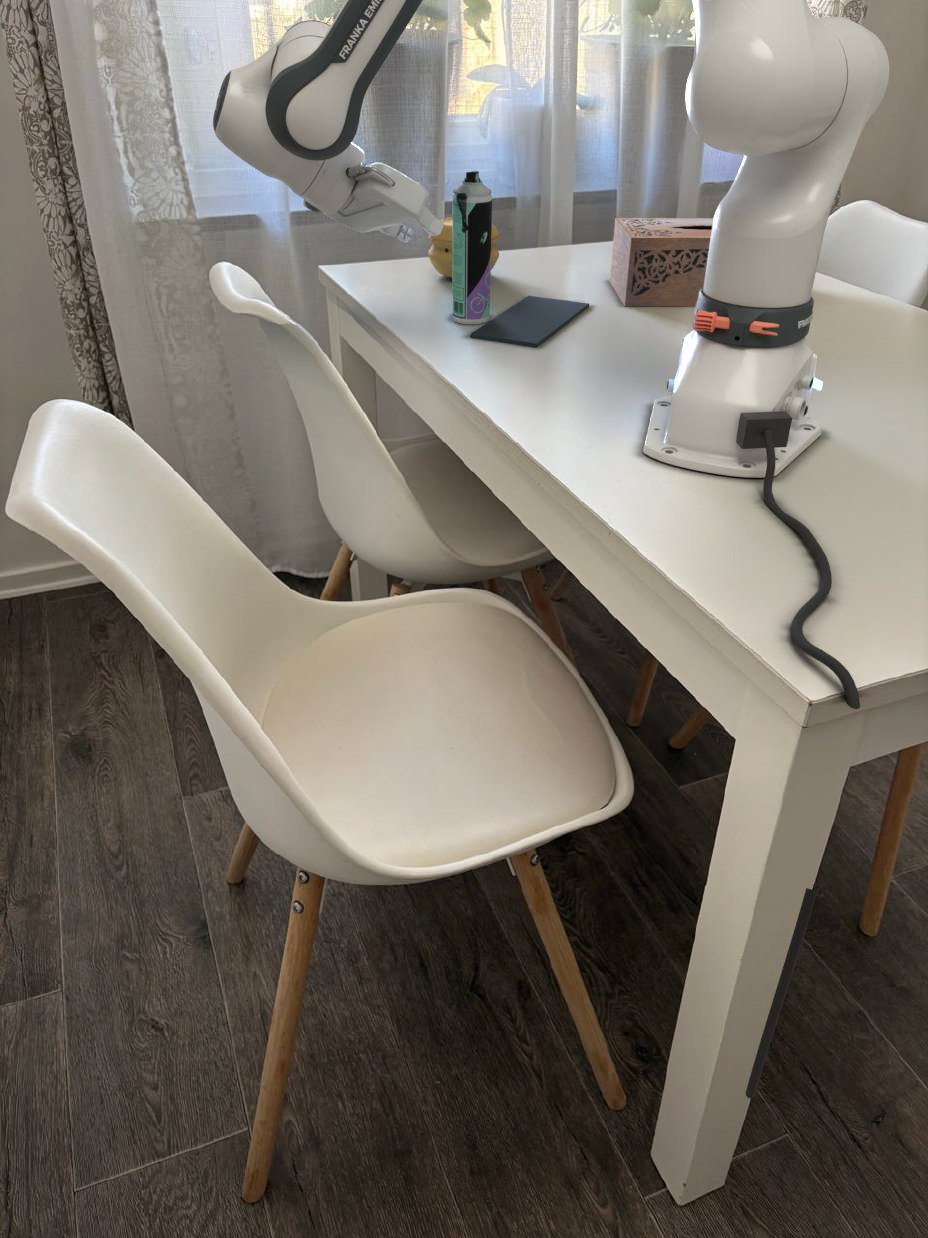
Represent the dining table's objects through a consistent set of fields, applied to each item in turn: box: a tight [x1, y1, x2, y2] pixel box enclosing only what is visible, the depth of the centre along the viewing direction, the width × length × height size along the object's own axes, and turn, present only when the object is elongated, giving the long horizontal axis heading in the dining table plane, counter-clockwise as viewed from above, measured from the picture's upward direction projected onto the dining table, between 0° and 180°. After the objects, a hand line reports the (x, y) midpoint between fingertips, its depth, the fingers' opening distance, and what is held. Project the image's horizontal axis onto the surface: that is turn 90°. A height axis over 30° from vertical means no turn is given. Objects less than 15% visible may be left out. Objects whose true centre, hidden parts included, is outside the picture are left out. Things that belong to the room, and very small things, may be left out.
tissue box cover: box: [609, 217, 714, 307], centre depth 153 cm, size 26×14×10 cm, turn 92°
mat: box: [469, 295, 590, 348], centre depth 142 cm, size 22×10×1 cm, turn 155°
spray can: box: [451, 170, 493, 325], centre depth 138 cm, size 6×6×20 cm
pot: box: [428, 216, 500, 279], centre depth 161 cm, size 12×12×10 cm
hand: (424, 233), depth 129 cm, fingers open, 8 cm apart
